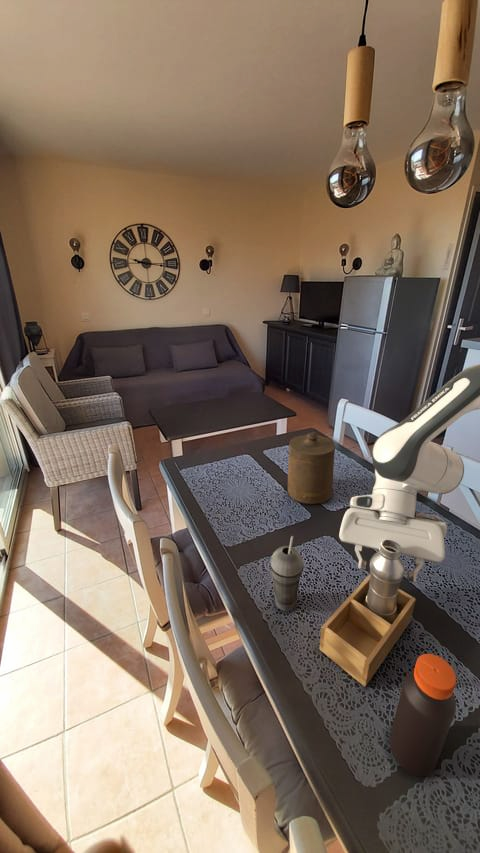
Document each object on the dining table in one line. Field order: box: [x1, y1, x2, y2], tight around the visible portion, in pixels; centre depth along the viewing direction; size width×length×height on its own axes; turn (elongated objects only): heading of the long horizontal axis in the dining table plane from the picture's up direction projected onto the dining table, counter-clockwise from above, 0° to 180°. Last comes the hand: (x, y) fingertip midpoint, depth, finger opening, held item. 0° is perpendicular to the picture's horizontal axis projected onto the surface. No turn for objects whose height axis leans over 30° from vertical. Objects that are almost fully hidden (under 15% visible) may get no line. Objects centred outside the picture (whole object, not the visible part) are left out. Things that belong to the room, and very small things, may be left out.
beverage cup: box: [269, 535, 305, 612], centre depth 79 cm, size 7×7×20 cm
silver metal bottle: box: [364, 540, 406, 625], centre depth 74 cm, size 6×7×20 cm
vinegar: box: [389, 653, 457, 778], centre depth 53 cm, size 7×7×20 cm
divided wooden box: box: [319, 573, 417, 688], centre depth 74 cm, size 10×19×7 cm, turn 133°
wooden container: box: [287, 431, 336, 505], centre depth 119 cm, size 15×15×22 cm
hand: (385, 575), depth 73 cm, fingers open, 8 cm apart
